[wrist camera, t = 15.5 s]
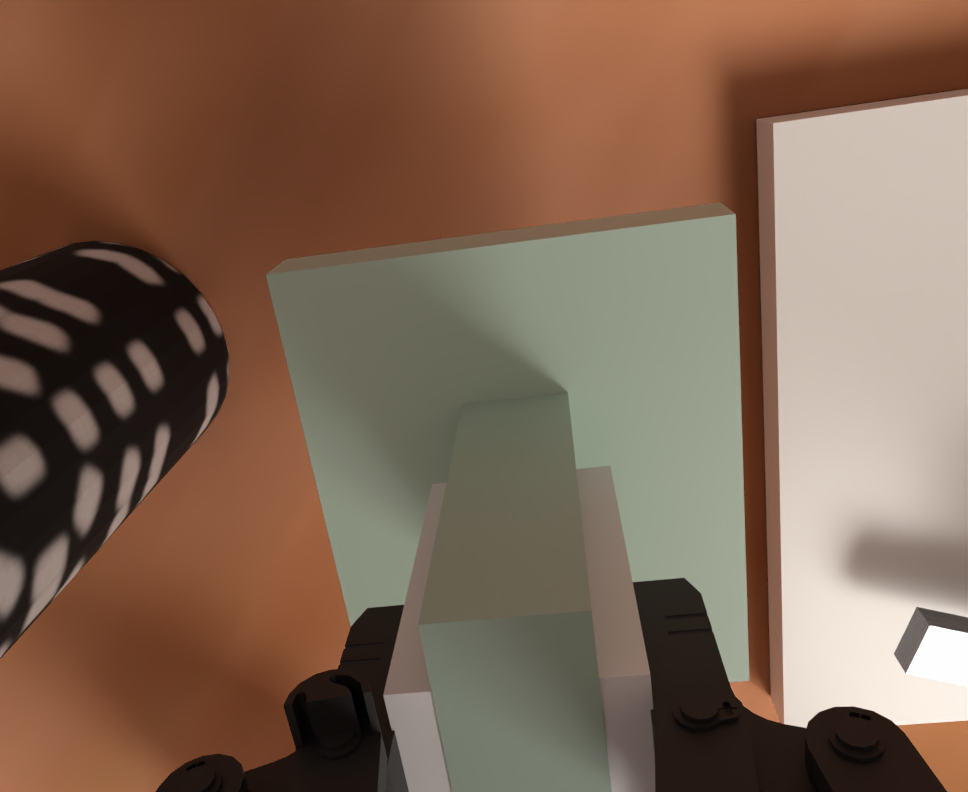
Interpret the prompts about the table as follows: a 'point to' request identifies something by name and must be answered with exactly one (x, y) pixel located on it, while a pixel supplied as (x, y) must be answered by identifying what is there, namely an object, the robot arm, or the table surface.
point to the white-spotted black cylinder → (92, 406)
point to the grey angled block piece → (935, 646)
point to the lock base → (864, 398)
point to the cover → (525, 456)
